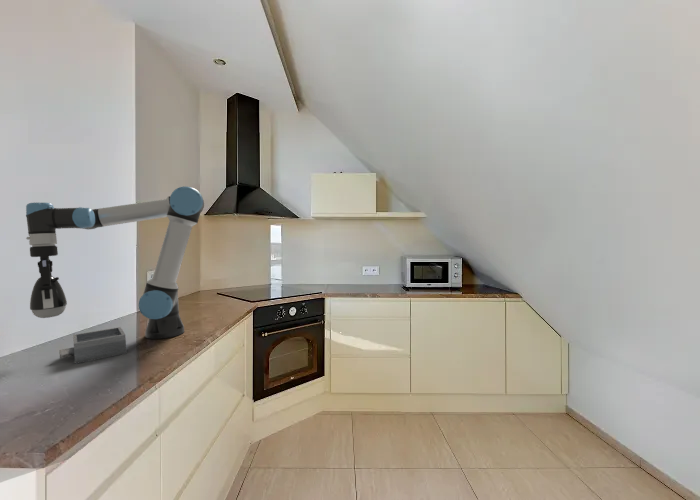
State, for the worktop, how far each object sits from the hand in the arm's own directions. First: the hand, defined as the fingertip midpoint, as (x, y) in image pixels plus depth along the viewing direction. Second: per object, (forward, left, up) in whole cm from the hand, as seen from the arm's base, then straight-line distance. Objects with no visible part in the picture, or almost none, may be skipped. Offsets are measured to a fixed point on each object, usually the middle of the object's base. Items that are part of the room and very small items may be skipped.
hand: (49, 305), depth 127 cm
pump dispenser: (0, 0, -4) cm, 4 cm away
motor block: (-12, +9, -19) cm, 24 cm away
